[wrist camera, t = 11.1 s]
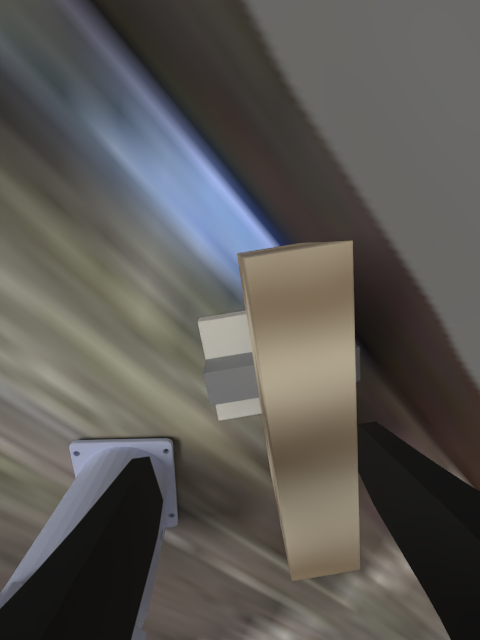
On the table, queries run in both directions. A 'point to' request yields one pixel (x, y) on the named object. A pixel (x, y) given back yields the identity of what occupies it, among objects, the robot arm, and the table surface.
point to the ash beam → (308, 397)
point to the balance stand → (233, 365)
